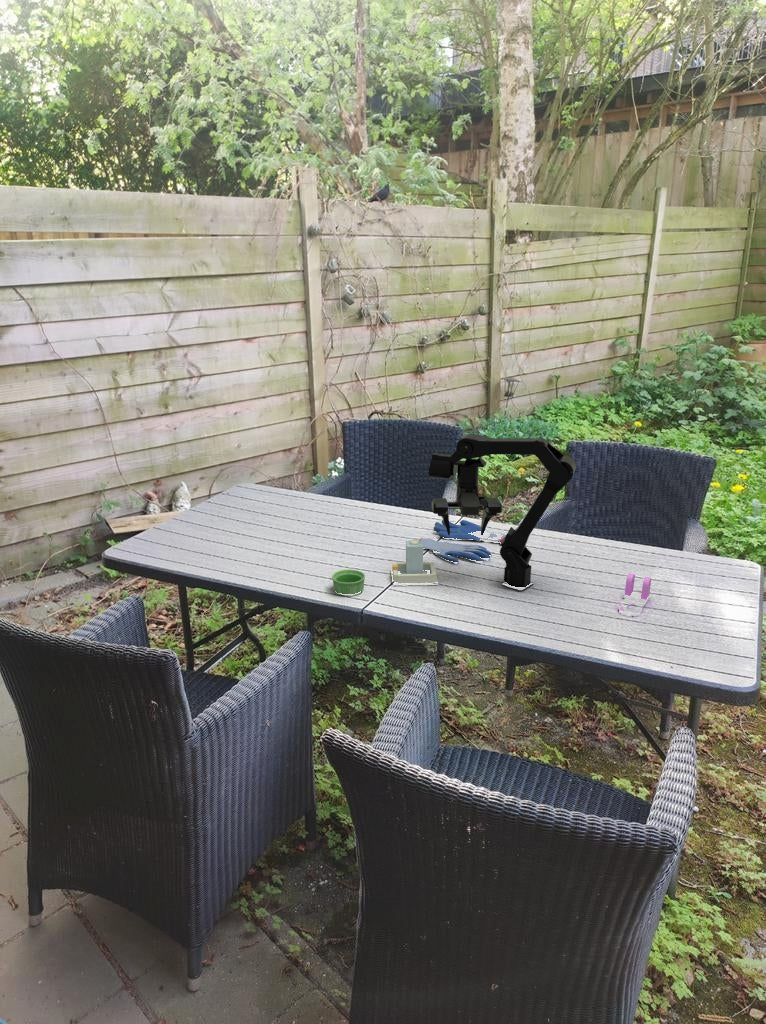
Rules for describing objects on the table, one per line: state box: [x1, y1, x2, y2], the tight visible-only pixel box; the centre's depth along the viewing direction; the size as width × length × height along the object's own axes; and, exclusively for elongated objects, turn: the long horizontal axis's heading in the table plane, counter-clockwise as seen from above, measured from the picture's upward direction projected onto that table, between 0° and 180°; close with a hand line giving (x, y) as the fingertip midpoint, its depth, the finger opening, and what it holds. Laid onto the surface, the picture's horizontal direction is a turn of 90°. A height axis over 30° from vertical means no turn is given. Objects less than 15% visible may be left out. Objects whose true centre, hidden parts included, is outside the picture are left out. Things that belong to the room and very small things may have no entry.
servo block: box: [400, 539, 427, 574], centre depth 199 cm, size 8×4×11 cm, turn 92°
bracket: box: [618, 573, 652, 611], centre depth 183 cm, size 13×6×7 cm, turn 149°
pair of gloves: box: [418, 519, 507, 563], centre depth 225 cm, size 32×26×4 cm
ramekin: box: [331, 569, 366, 594], centre depth 193 cm, size 9×9×4 cm
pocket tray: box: [391, 561, 438, 583], centre depth 200 cm, size 13×10×4 cm
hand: (465, 534), depth 197 cm, fingers open, 9 cm apart
